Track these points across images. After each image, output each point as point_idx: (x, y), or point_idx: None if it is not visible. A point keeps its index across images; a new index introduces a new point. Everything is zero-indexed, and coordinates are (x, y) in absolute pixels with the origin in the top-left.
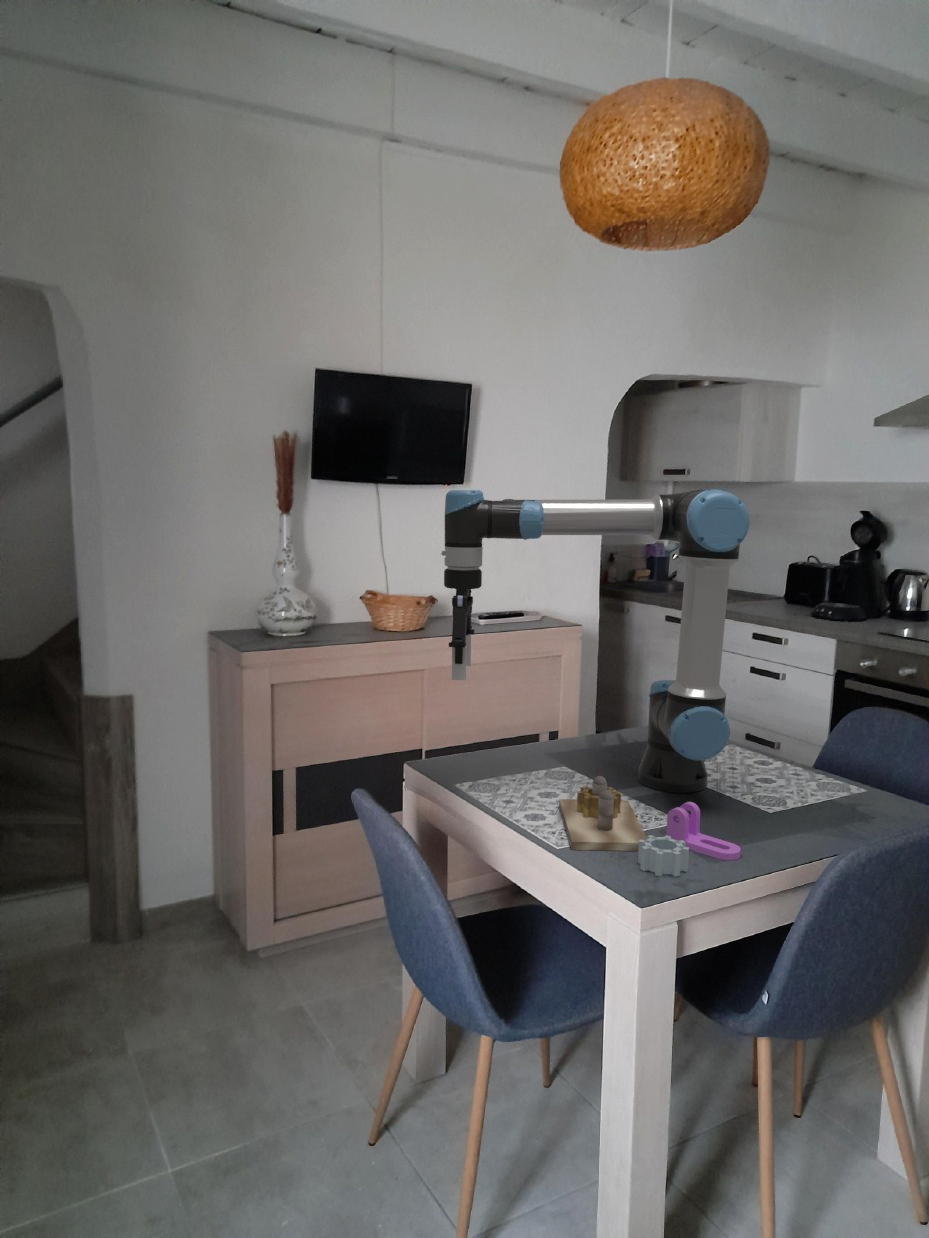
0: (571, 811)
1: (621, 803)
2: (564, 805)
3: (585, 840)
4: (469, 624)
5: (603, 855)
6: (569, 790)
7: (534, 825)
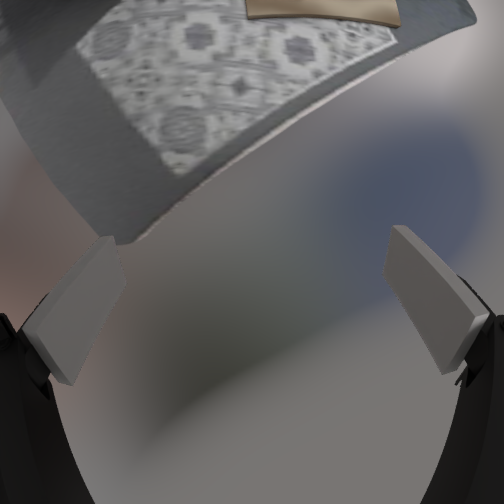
0: (299, 4)
1: None
2: (275, 10)
3: (394, 11)
4: (24, 410)
5: (402, 3)
6: (174, 13)
7: (331, 53)
